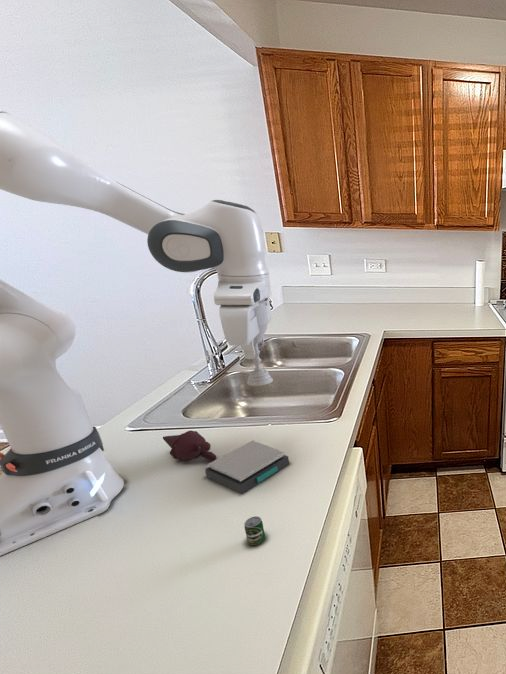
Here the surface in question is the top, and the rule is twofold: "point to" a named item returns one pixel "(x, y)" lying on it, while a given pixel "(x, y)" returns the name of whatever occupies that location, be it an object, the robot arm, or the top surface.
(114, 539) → the top surface
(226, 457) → the scale pan
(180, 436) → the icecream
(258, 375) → the chalice
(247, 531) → the beer can
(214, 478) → the scale
